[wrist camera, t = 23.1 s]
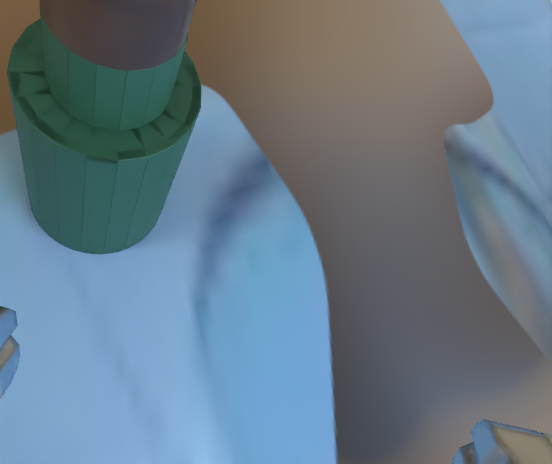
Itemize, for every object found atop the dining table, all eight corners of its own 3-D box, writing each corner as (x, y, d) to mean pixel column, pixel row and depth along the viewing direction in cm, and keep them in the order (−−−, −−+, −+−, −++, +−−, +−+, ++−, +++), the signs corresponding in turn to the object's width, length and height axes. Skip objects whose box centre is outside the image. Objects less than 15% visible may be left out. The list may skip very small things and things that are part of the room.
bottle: (165, 151, 35) (224, -37, 22) (157, 259, 32) (222, 122, 19) (39, 131, 33) (16, -98, 19) (19, 247, 30) (-27, 76, 16)
